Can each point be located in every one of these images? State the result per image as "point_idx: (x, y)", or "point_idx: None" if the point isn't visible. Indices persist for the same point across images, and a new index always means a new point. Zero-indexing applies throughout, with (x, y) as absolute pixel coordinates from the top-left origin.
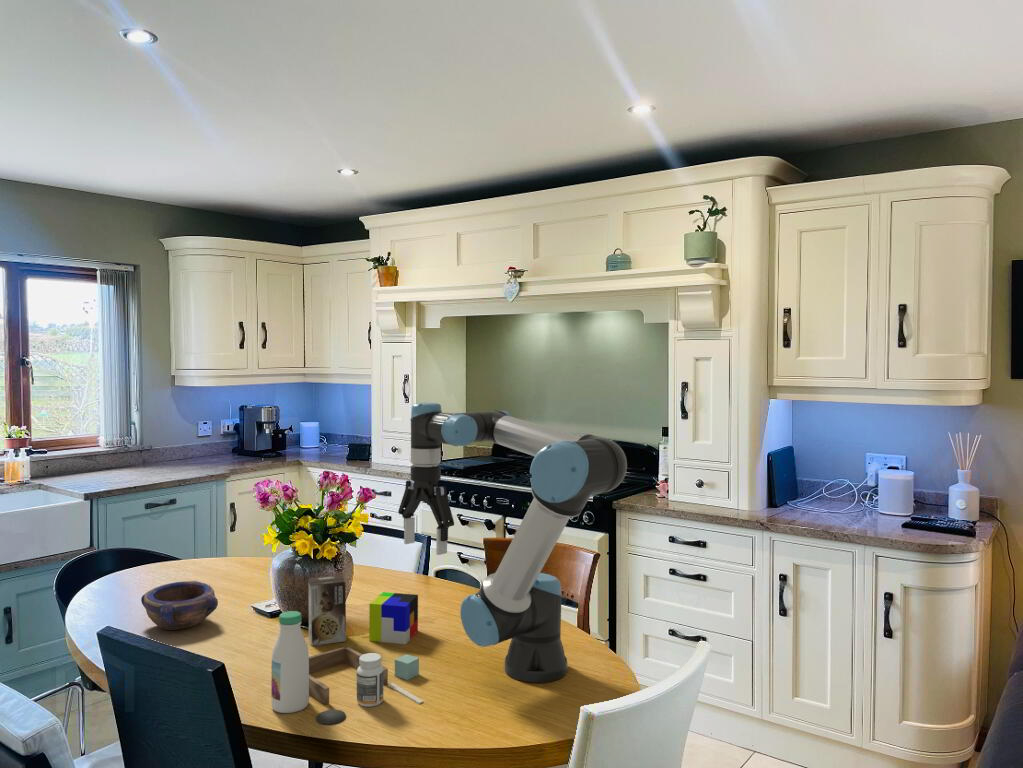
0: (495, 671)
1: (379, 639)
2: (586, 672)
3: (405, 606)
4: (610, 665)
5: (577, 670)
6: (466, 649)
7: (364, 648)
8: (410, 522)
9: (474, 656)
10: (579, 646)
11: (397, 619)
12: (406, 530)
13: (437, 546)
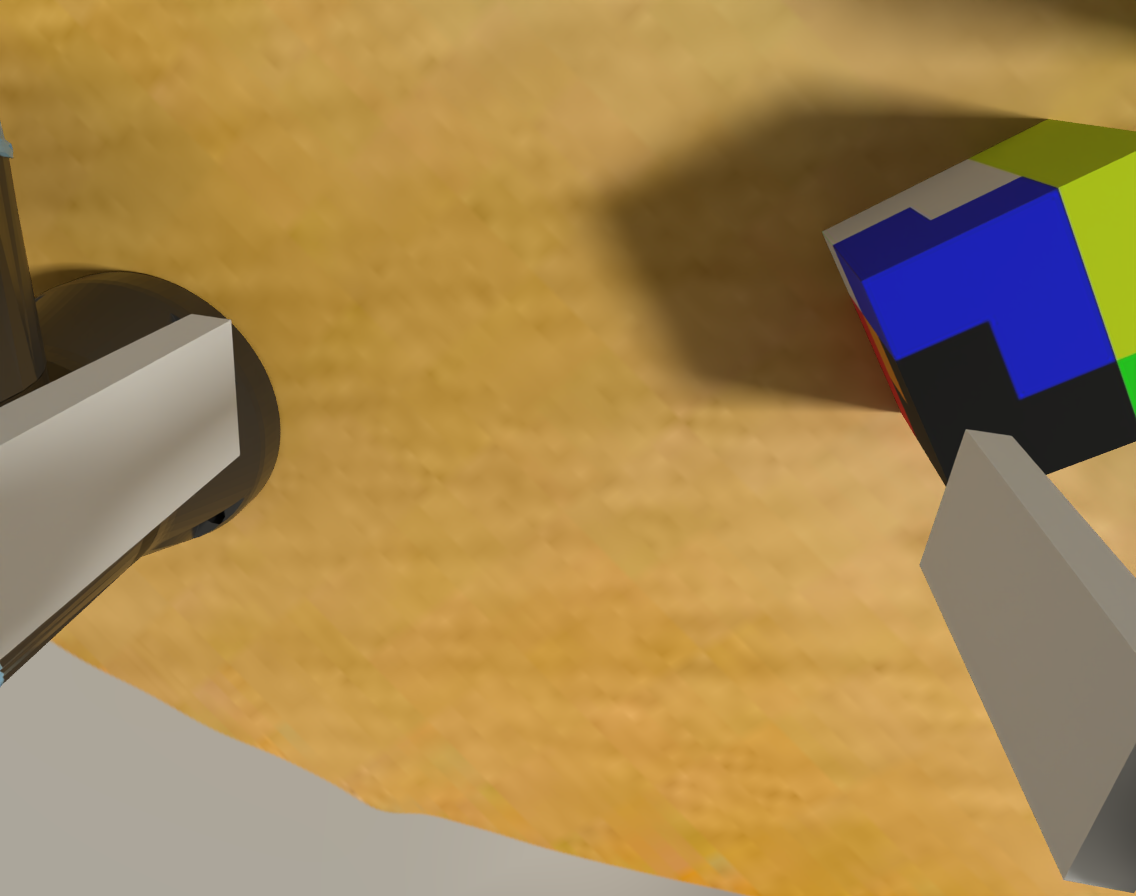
0: (244, 281)
1: (984, 154)
2: None
3: (864, 282)
4: None
5: None
6: (523, 385)
7: (988, 9)
8: (1067, 721)
9: (434, 347)
10: (227, 677)
11: (901, 233)
12: (1045, 548)
13: (141, 351)
